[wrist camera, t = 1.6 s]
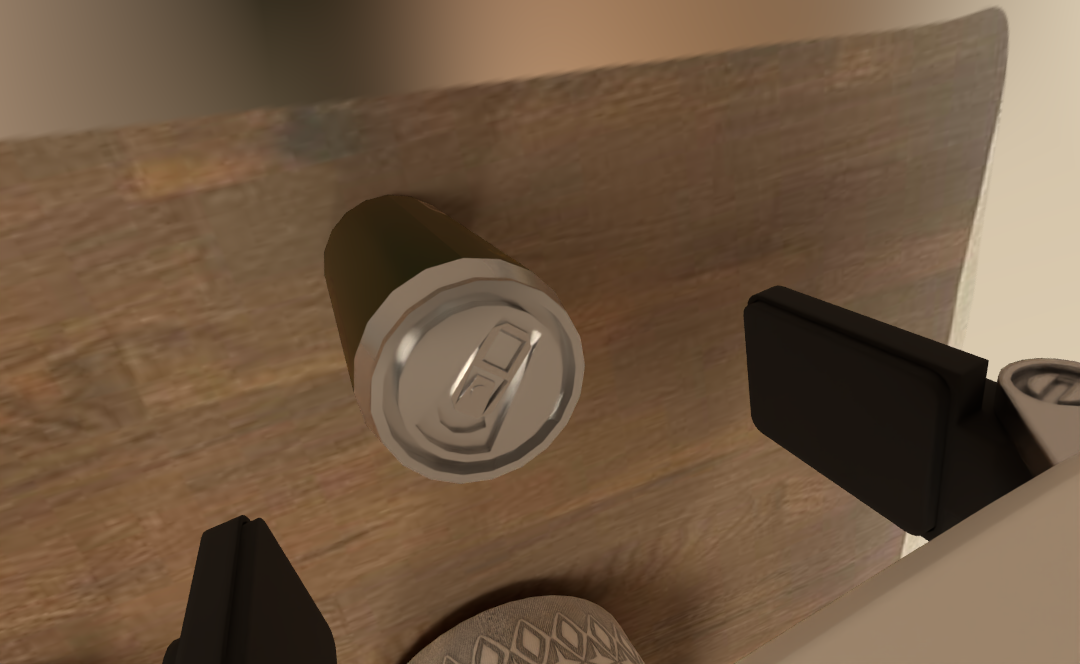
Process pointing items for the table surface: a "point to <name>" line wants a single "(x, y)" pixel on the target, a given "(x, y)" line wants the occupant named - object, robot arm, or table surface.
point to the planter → (534, 636)
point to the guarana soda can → (449, 342)
